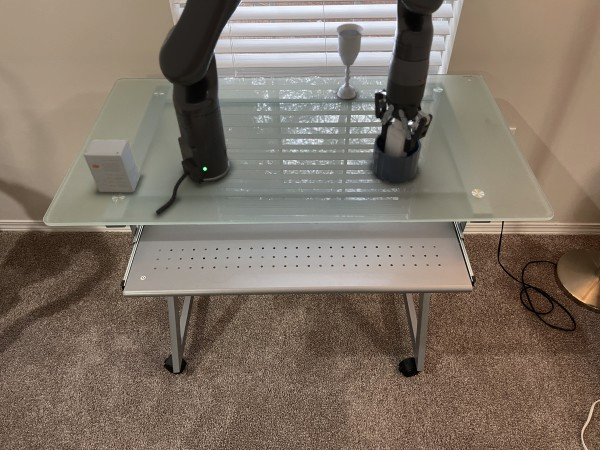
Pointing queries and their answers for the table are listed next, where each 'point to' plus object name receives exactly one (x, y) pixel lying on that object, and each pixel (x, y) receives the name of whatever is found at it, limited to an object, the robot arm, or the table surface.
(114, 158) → the small box
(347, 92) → the chalice
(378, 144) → the dark blue round container
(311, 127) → the table surface
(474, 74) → the table surface
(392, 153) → the eye dropper bottle
